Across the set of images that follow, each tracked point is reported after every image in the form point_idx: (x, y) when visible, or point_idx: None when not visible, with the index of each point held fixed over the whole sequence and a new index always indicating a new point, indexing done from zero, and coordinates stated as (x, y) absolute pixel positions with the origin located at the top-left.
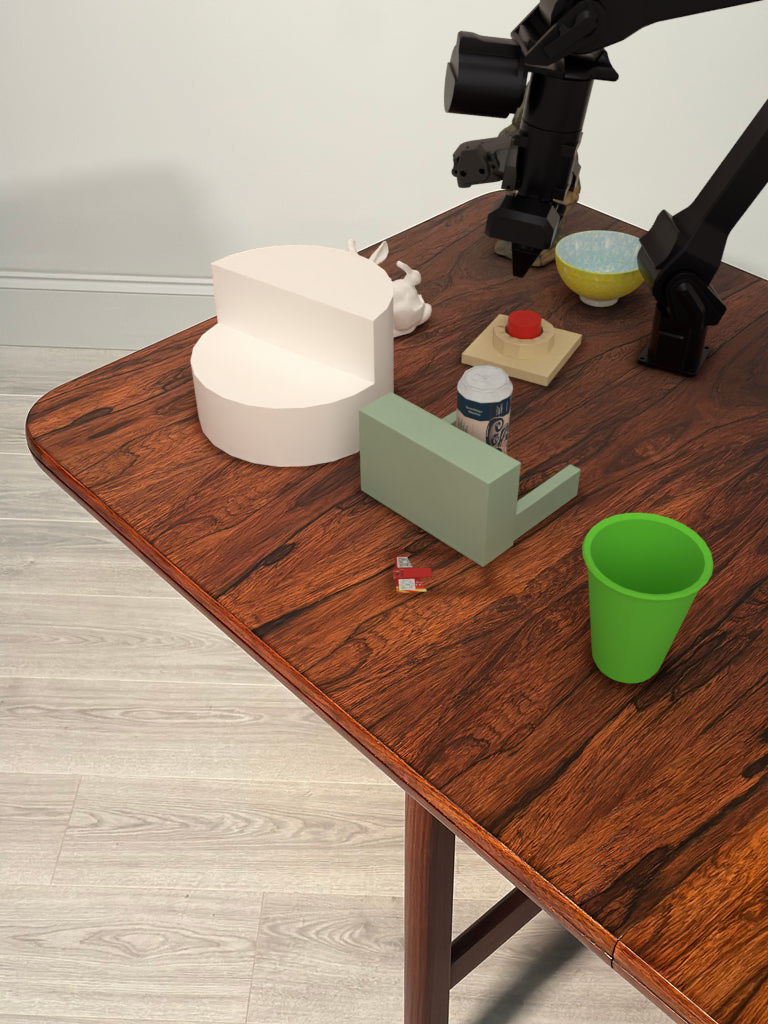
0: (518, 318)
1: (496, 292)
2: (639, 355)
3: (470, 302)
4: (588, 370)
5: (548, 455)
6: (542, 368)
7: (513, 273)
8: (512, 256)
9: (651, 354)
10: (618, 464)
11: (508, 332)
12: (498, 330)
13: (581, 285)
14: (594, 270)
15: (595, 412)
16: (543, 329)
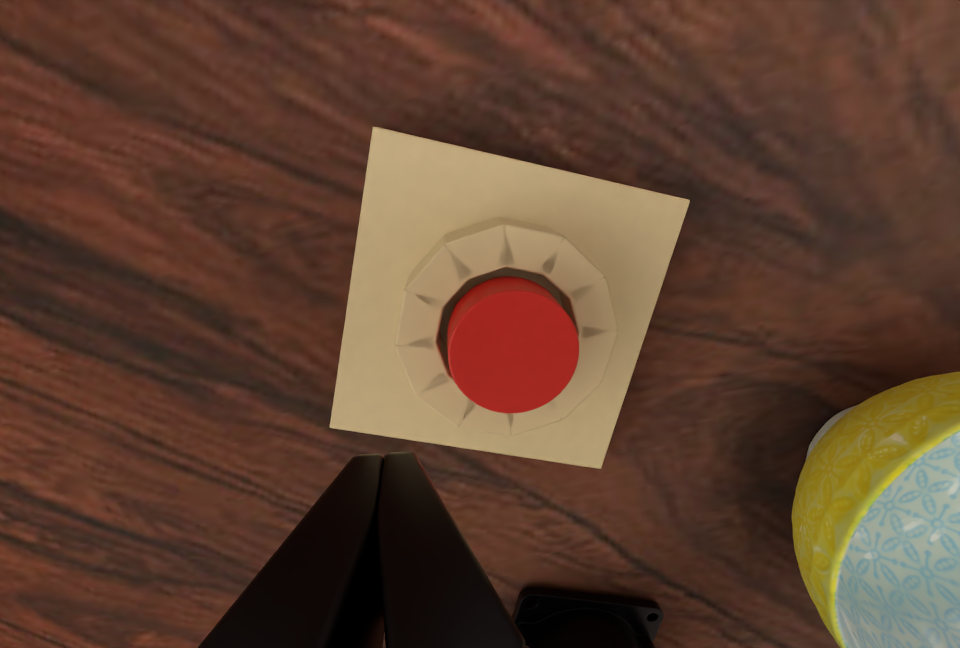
0: (503, 332)
1: (889, 139)
2: (545, 596)
3: (811, 57)
4: (459, 491)
5: (12, 476)
6: (372, 404)
7: (349, 467)
8: (247, 589)
9: (545, 625)
10: (70, 614)
11: (474, 288)
12: (473, 250)
13: (817, 477)
14: None
15: (264, 538)
16: None
